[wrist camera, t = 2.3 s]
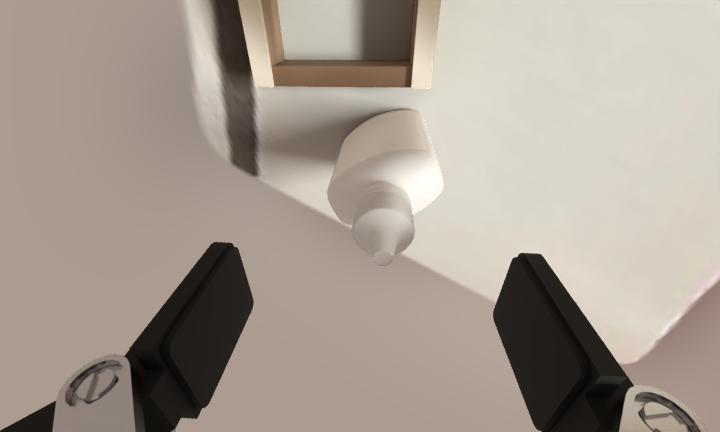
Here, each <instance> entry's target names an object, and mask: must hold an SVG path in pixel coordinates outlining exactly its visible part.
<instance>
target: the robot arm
mask: <svg viewBox="0 0 720 432" xmlns="http://www.w3.org/2000/svg"><path fill="white" fill-rule="evenodd" d="M252 308H253V297H252V294H251V290H250V287H249V283H248V280H247V277H246V274H245V270H244V267H243V263H242V260H241V256H240V253H239V250H238V248H237V247H234V246H233V244H232V243H223V242H214V243H212V244H211V245H210V247H209V248H208V249H207V250H206V252H205V253H204V254H203V255H202V257H201V258H200V259H199V261H198V262H197V263H196V264H195V266H194V267H193V268H192V269H191V271H190V272H189V273H188V275H187V276H186V277H185V278H184V280H183V281H182V283H181V284H180V285H179V286H178V287H177V289H176V290H175V291H174V292H173V294H172V295H171V296H170V298H169V299H168V300H167V301H166V303H165V304H164V305H163V306H162V308H161V309H160V310H159V312H158V313H157V314H156V315H155V317H154V318H153V319H152V321H151V322H150V323H149V324H148V326H147V327H146V328H145V329H144V331H143V332H142V333H141V335H140V336H139V337H138V338H137V340H136V341H135V342H134V343H133V345H132V346H131V347H130V350H129V351H128V352H127V354H126V355H125V356H123V355H116V354H114V355H107V356H104V357H101V358H98V359H96V360H93V361H92V362H90V363H88V364H86V365H84V366H83V367H82V368H80V369H79V370H78V371H76V372H75V373H74V374H73V375H72V376H71V377H70V378H69V379H68V380H67V381H66V382H65V384H64V385H63V387H62V388H61V390H60V391H59V394H58V397H57V400H56V401H55V402H53V403H51V404H49V405H47V406H45V407H43V408H42V409H40V410H38V411H36V412H34V413H32V414H30V415H28V416H27V417H25V418H23V419H21V420H19V421H17V422H15V423H14V424H12V425H10V426H8V427H6V428H4V429H3V430H1V431H0V432H176V431H175V428H176V426H177V424H178V422H179V420H180V418H193V419H194V418H195V419H197V418H198V416H199V414H200V411H201V409H202V408H205V407H206V406H207V405H208V404H209V402H210V400H211V398H212V396H213V394H214V392H215V389H216V387H217V385H218V383H219V380H220V378H221V376H222V374H223V372H224V370H225V367H226V365H227V363H228V361H229V359H230V357H231V354H232V352H233V350H234V348H235V346H236V343H237V341H238V339H239V337H240V335H241V333H242V331H243V328H244V326H245V324H246V322H247V320H248V317H249V315H250V313H251V311H252ZM493 318H494V322H495V325H496V327H497V330H498V333H499V335H500V338H501V340H502V343H503V346H504V348H505V351H506V354H507V356H508V359H509V361H510V364H511V367H512V369H513V372H514V374H515V377H516V379H517V382H518V385H519V388H520V390H521V393H522V395H523V398H524V400H525V403H526V406H527V409H528V411H529V414H530V416H531V419H532V421H533V424H534V426H535V427H536V429H537V430H540V431H542V432H708V430H707V429H706V427H705V425H704V424H703V422H702V421H701V420H700V419H699V418H698V417H697V416H696V415H695V413H694V412H693V411H691V410H690V409H689V408H688V407H687V406H686V405H684V404H683V403H682V402H681V401H679V400H678V399H676V398H674V397H673V396H671V395H670V394H668V393H666V392H663V391H661V390H659V389H657V388H654V387H650V386H645V385H636V386H634V385H633V384H632V382H631V381H630V380H629V378H628V377H627V376H626V374H625V372H624V371H623V370H622V368H621V367H620V365H619V364H618V362H617V361H616V360H615V358H614V357H613V355H612V354H611V352H610V351H609V350H608V348H607V347H606V345H605V344H604V342H603V341H602V340H601V338H600V337H599V335H598V334H597V332H596V331H595V330H594V328H593V327H592V325H591V324H590V323H589V321H588V320H587V318H586V317H585V315H584V314H583V313H582V311H581V310H580V308H579V307H578V305H577V304H576V303H575V301H574V300H573V299H572V297H571V296H570V294H569V293H568V292H567V290H566V289H565V287H564V286H563V284H562V283H561V282H560V280H559V279H558V277H557V276H556V274H555V273H554V272H553V270H552V269H551V267H550V266H549V264H548V263H547V262H546V260H545V259H544V257H543V256H542V255H541V254H532V253H520V254H519V255H518V257H514V258H513V259H512V262H511V264H510V267H509V270H508V273H507V275H506V278H505V281H504V284H503V286H502V289H501V292H500V295H499V297H498V300H497V303H496V305H495V308H494V312H493Z"/></svg>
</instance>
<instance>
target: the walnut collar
mask: <svg viewBox="0 0 720 432" xmlns="http://www.w3.org/2000/svg"><path fill="white" fill-rule="evenodd" d="M238 3H239V8H240V14H241V19H242V24H243V29H244V34H245V39H246V44H247V49H248V54H249V60H250V65H251V70H252V75H253V80H254V85H255V87H274V86H309V87H411V89H430V88H431V79H432V71H433V63H434V54H435V46H436V38H437V30H438V21H439V13H440V5H441V0H414V11H413V24H412V36H411V49H410V60H285V59H284V51H283V44H282V37H281V29H280V22H279V14H278V7H277V0H238Z"/></svg>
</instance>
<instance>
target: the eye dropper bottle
mask: <svg viewBox="0 0 720 432" xmlns="http://www.w3.org/2000/svg"><path fill="white" fill-rule="evenodd" d="M443 184H444V182H443V176H442V173H441V169H440V166H439V163H438V160H437V156H436V153H435V150H434V147H433V144H432V141H431V138H430V136H429V133H428V130H427V127H426V124H425V121H424V118H423V116H422V115H421V113H420V112H418V111H416V110H397V111H391V112H386V113H383V114H380V115H377V116H375V117H372V118H370V119H369V120H367V121H365V122H363V123H362V124H361V125H359V126H358V127H357V128H355V129H354V130H353V131H352V132H351V133H350V134H349V135H348V136H347V137H346V138H345V140H344V142H343V145H342V147H341V150H340V153H339V156H338V159H337V162H336V165H335V168H334V171H333V174H332V177H331V180H330V183H329V187H328V191H327V195H328V200H329V202H330V204H331V206H332V208H333V210H334V212H335V213H336V215H337V216H338V218H339V219H340V220H341V221H342V222H344V223H346V224H349V225H353V226H352V233H353V234H352V235H353V238H354V240H355V242H356V243H357V245H358V246H359V247H360V248H361V249H363V250H364V251H365V252H367V253H370V254H372V259H373V261H374V263H375V264H377V265H379V266H386V265H388V264H390V263H391V262H392V260H393V256H394V255H395V254H398V253H400V252H402V251H403V250H405V249H406V248H407V247H408V246H409V245H410V244H411V242H412V240H413V237H414V234H415V233H414V231H415V230H414V221H413V215H414V214H416V213H418V212H419V211H420V210H422V209H423V208H425V207H426V206H427V205H429V204H430V203H431V202H432V201H433V200H434V199H435V198H436V197H437V196H438V195H439V194H440V193H441V191H442V190H443Z"/></svg>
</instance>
